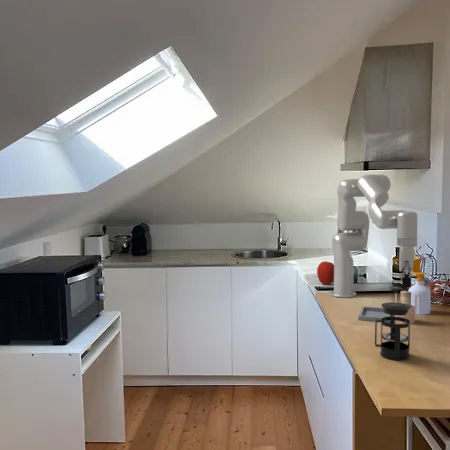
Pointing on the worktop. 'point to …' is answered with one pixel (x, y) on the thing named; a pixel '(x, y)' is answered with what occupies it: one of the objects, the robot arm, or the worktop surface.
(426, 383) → the worktop surface
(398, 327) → the french press
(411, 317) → the cup
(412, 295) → the soap bottle
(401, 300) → the dowel
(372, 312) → the tray
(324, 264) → the apple
